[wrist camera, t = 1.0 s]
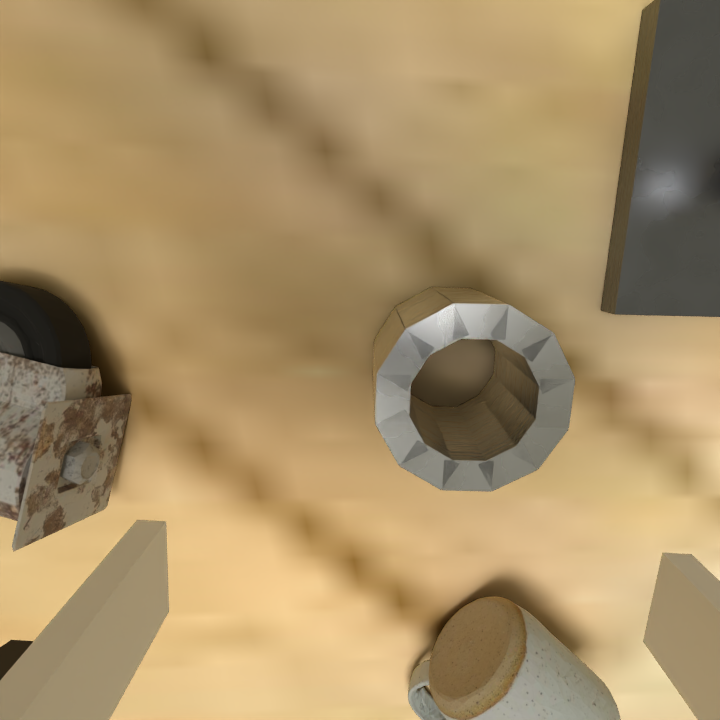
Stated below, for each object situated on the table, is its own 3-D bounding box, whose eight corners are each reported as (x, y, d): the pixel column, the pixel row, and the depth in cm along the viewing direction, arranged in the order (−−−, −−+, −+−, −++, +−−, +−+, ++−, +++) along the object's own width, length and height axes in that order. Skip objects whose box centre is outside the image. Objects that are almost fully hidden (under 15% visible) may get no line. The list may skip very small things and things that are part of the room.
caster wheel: (2, 278, 29) (160, 316, 28) (-39, 465, 29) (116, 510, 28) (-121, 253, 22) (79, 301, 21) (-174, 496, 22) (22, 556, 21)
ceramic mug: (500, 562, 30) (542, 671, 22) (587, 643, 31) (654, 771, 24) (376, 662, 32) (377, 792, 25) (462, 734, 33) (488, 878, 26)
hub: (375, 285, 26) (378, 301, 19) (527, 289, 26) (584, 306, 19) (371, 428, 28) (373, 488, 21) (513, 431, 28) (560, 493, 21)
